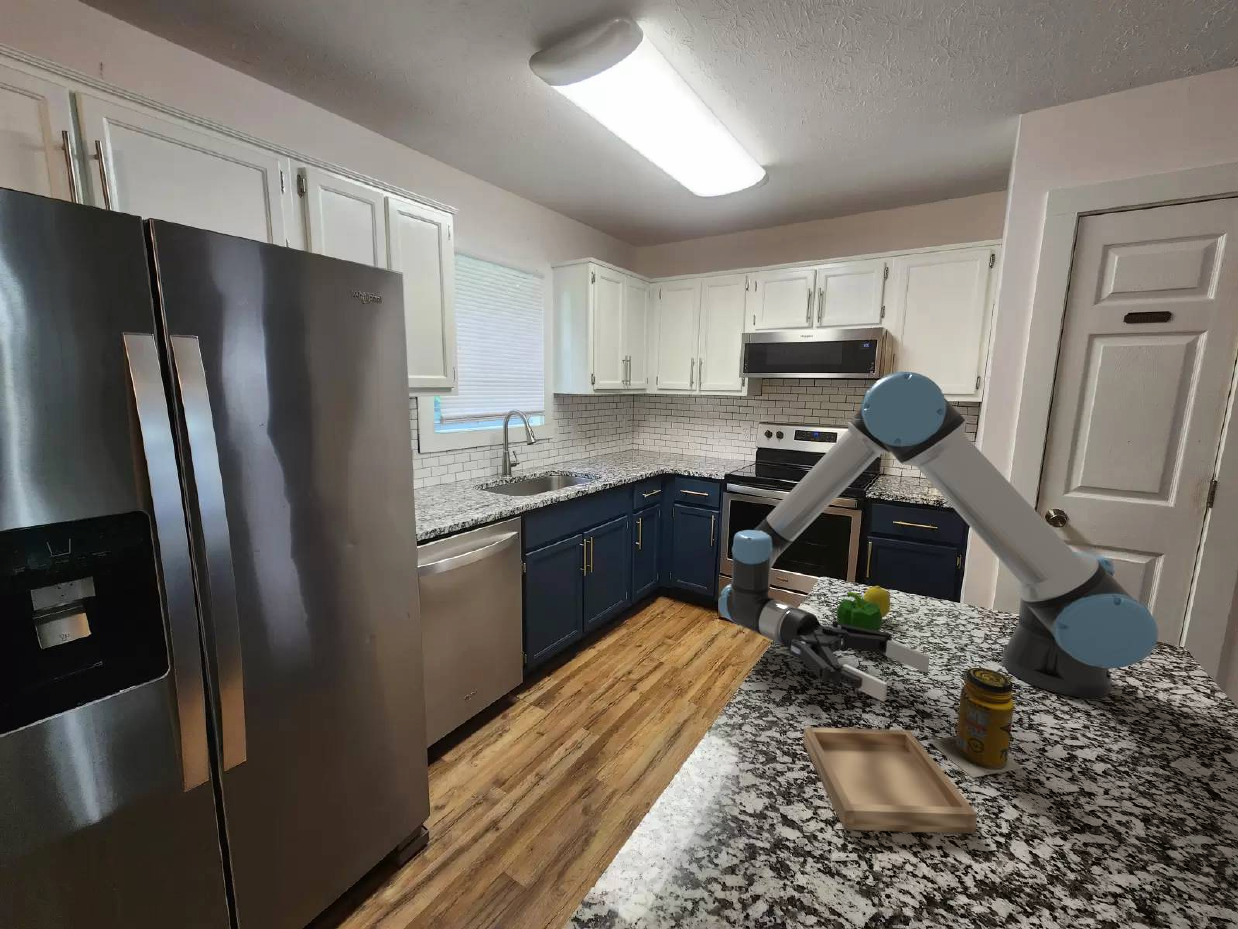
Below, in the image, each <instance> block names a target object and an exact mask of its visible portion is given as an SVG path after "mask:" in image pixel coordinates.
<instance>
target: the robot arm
mask: <svg viewBox="0 0 1238 929" xmlns="http://www.w3.org/2000/svg"><path fill="white" fill-rule="evenodd" d="M966 426H967V420H966V418H964V417H963V416H962V414H960V412H959V411H958V410H957V409H956V408H955V407H954V406H953V405H952V404H951V403H950V402H949V401H948V399H947V398H946V397H945V395H944V394H943V391H942V389H941V388H940V386H939V385H938V384H937V383H936V382H935V381H934V380H932V379H931V378H930V377H927V376H926V375H923V374H921V373H919V372H918V373H917V372H911V371H900V372H892V373H890V374H888V375H884V376H883V377H881V378H880V379H879V380H876V382H874V384H873V385H872V386H870V387H869V388H868V390H867V392H866V393H865V396H863V399H862V402H861V407H860V408H859V410H858V411H857V412H856V413H855V415H854V416H852V417H851V419H850V420H849V421H848V426H847V427H848V428H847V431H846V432H845V433H844V434H843V435H842V436H841V437H840V438H839V439H838V441H836V442H835V444H833V445H832V447H831V448H829V450H828V451H827V452H826V453H825V454H824V455H823V456H822V457H821V459H819V460H818V462H817V463H815V465H814V466H813V467H812V468H811V469H809V471H808V472H807V473H806V474H805V476H804V477H803V478H802V479H801V480H800V481H799V482H797V484H796V485H795V486H794V487H793V488H792V490H790V491H789V493H788V494H787V495H786V496H785V497H784V498H783V499H782V500H781V501H780V502H779V503H778V504H777V505H776V506H775V508H774V509H773V510H772V511H770V513H769V514H768V515H767V516H766V517H765V518H764V519H763V520H762V521H761V522H760V523H759V525H757V527H755V528H754V529H753V530H752V529H746V530H745V529H744V530H740V531H738V532H736V533H735V534H734V536H733V544H732V547H731V553H732V562H731V563H732V564H731V583H729V584H727V585H726V586H725V587H724V588H723V589H722V591H720V595H721V596H720V597H719V598H718V609H719V612H720V614H721V615H722V616H723V617H724V618H726V619H727V620H729V621H731V622H733V624H736V625H737V626H739V627H740V626H741V627H743V628H745V629H747V630H750V631H752V632H754V633H756V634H759V635H760V636H762V637H765V638H767V639H769V640H771V641H773V642H774V641H775V642H774V643H775V644H779V645H782V646H784V647H785V648H787V649H789V650H790V655H791V656H793V657H794V658H796V659H798V660H799V661H801V662H802V663H803V664H804V665H805V666H806V667H807V668H808V669H809V670H810V671H811V672H812V674H814V676H816V677H817V678H818V680H820V681H821V683H823V684H827V685H828V684H830V682H831V685H832V686H834V687H840V686H841V682H842V683H843V684H845V685H847V686H850V687H851V688H854V689H856V690H858V691H860V692H863V693H865V694H867V695H869V696H871V697H872V698H875V699H877V700H879V701H881V702H885V701H886V700H887V691H888V682H886V681H884V680H883V679H879V678H877V677H875V676H873V675H871V674H868V673H867V672H864V671H862V670H860V669H858V668H855V667H854V666H851V665H849V664H847V663H846V664H845V663H844V664H843V665H841V663H840V662H839V661H838V659H837V657H836V656H835V655H834V653H835V652H839V651H843V652H846V651H847V652H848V650H857V651H864V652H874V653H882V654H883V653H884V654H885V657H887V658H890V659H892V660H894V661H897V662H899V663H901V664H904V665H905V666H906V665H907V666H908V667H911V668H913V669H916V670H918V671H920V672H924V673H928V672H929V666H930V657H931V656H930V655H928V654H926V653H923V652H921V651H918V650H916V649H913V648H911V647H908V646H907V645H906V646H905V645H903V644H900V643H897V642H895V641H893V634H892V633H890V632H885V631H875V630H870V629H865V628H860V627H855V626H850V625H845V624H842V623H839V622H838V621H837V620H835V621H832V625H831V626H827V625H822V624H821V623H820V621H819V619H818V617H817V616H816V615H815V614H814V613H811V612H810V611H809V612H808V611H807V610H804V609H801V608H798V607H796V606H794V605H792V604H789V603H786V602H783V601H781V600H779V599H776V598H773V597H771V596H770V591H771V589H770V588H771V574H772V573H771V571H772V567H773V566H774V564H775V562H776V561H777V559H778V557H780V556H781V555H782V553H783V552H784V551H785V550H787V548H788V547H790V545H791V544H792V543H793V542H794V541H795V540H796V539H797V538H798V537H799V536H800V535H801V534H802V533H803V532H804V531H805V530H806V529H807V528H808V527H809V526H810V525H811V524H812V523H813V522H814V521H815V520H816V519H817V518H818V517H819V516H820V515H821V514H822V513H823V512H824V511H825V510H826V509H827V508H828V507H829V506H830V505H831V504H832V503H833V502H834V501H835V500H836V499H837V498H838V497H839V496H840V495H841V493H844V491H845V490H846V489H847V488H849V486H850V485H851V484H852V483H853V482H854V481H855V480H856V479H857V478H858V477H859V476H860V475H861V474H862V473H863V472H864V471H865V470H867V468H868V467H869V466H870V465H871V464H872V463H873V462H874V461H875V460H876V459H877V458H878V457H879V456H880V455H885V454H886V455H887V454H890V453H891V454H892V455H893V456H894V457H895V458H896V460H897V461H898V462H899V463H900V464H901V465H905V466H912V467H916V468H917V469H918V470H919V471H920V472H921V473H922V474H923V476H924V477H925V478H926V479H927V480H928V481H929V482H930V483H931V485H932V486H933V487H934V488H935V489H936V490H937V492H939V494H940V495H941V496H942V497H943V498H944V499H945V500H946V501H947V503H948V504H949V505H950V506H951V507H952V508H953V509H954V511H955V512H956V513H957V514H959V515H960V517H961V518H962V519H963V520H964V522H965V523H966V524H967V525H968V526H969V527H970V528H971V529H972V530H973V531H974V533H975V534H976V535H977V536H978V537H979V538H980V539H981V541H983V542H984V544H985V545H986V546H987V547H988V548H989V549H990V550H991V552H992V553H993V554H994V555H995V556H996V557H997V558H998V559H999V561H1000V562H1001V563H1002V564H1003V566H1004V567H1005V568H1007V569H1008V571H1009V572H1010V573H1011V574H1012V575H1013V576H1014V577H1015V579H1016V580H1017V581H1019V584H1018V589H1017V596H1018V598H1020V604H1019V613H1018V614H1019V615H1018V621H1017V625H1016V628H1014V632H1013V633H1012V635H1011V637H1010V638H1009V640H1008V642H1007V644H1006V645H1005V646H1004V648H1003V650H1002V658H1001V664H1002V665H1003V667H1004V668H1005V669H1006V670H1007V671H1008V672H1009V673H1011V674H1012V676H1013V675H1014V676H1015V677H1017V678H1018V679H1020V680H1022V681H1024V682H1026V683H1028V684H1030V685H1032V686H1035V687H1038V688H1040V689H1043V690H1046V691H1049V692H1052V693H1056V694H1060V695H1064V696H1069V697H1075V698H1083V699H1100V698H1104V697H1107V696H1108V695H1109V694H1110V693H1111V688H1112V683H1113V682H1112V681H1113V677H1112V674H1111V672H1110V669H1120V668H1126V667H1130V666H1132V665H1135V664H1137V663H1140V662H1142V661H1143V660H1144V659H1146V658H1147V657H1148V656H1150V655H1151V653H1152V652H1153V651H1154V650H1155V648H1156V645H1157V643H1158V639H1159V627H1158V624H1157V622H1156V619H1155V618H1154V616H1153V615H1152V613H1151V612H1150V610H1149V609H1148V607H1147V606H1145V605H1144V604H1143V603H1142V602H1140V601H1138V600H1136V599H1135V598H1133V597H1132V596H1131V595H1130V594H1129V592H1127V590H1126V589H1125V587H1123V586H1122V585H1121V584H1120V583H1119V582H1118V581H1117V580H1116V579H1115V578H1114V577H1113V575H1114V574H1115V570H1114V563H1113V562H1114V561H1112V560H1111V559H1109V558H1108V557H1104V556H1100V555H1096V554H1091V553H1085V552H1080V551H1074V550H1073V549H1072V548H1070V546H1069V545H1068V544H1067V543H1066V542H1065V540H1064V539H1062V537H1061V536H1059V535H1058V533H1057V532H1056V531H1055V530H1054V529H1053V527H1051V525H1049V524H1048V522H1047V521H1046V520H1045V519H1044V518H1043V517H1042V516H1041V515H1040V514H1039V513H1038V512H1037V510H1036V509H1034V507H1033V506H1032V505H1031V504H1030V503H1029V502H1028V501H1027V500H1026V499H1025V498H1024V497H1023V495H1022V494H1020V492H1019V491H1018V490H1017V489H1016V487H1015V486H1013V485H1012V484H1011V483H1010V481H1009V480H1008V479H1006V478H1005V476H1004V475H1003V474H1002V473H1001V472H1000V471H999V470H998V469H997V468H996V467H995V465H994V464H992V462H990V460H989V459H988V458H987V457H986V456H985V455H984V453H982V451H981V450H979V448H978V447H977V446H976V445H975V444H974V443H973V442H972V441H971V440H970V439H969V438H968V436H966Z"/></svg>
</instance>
